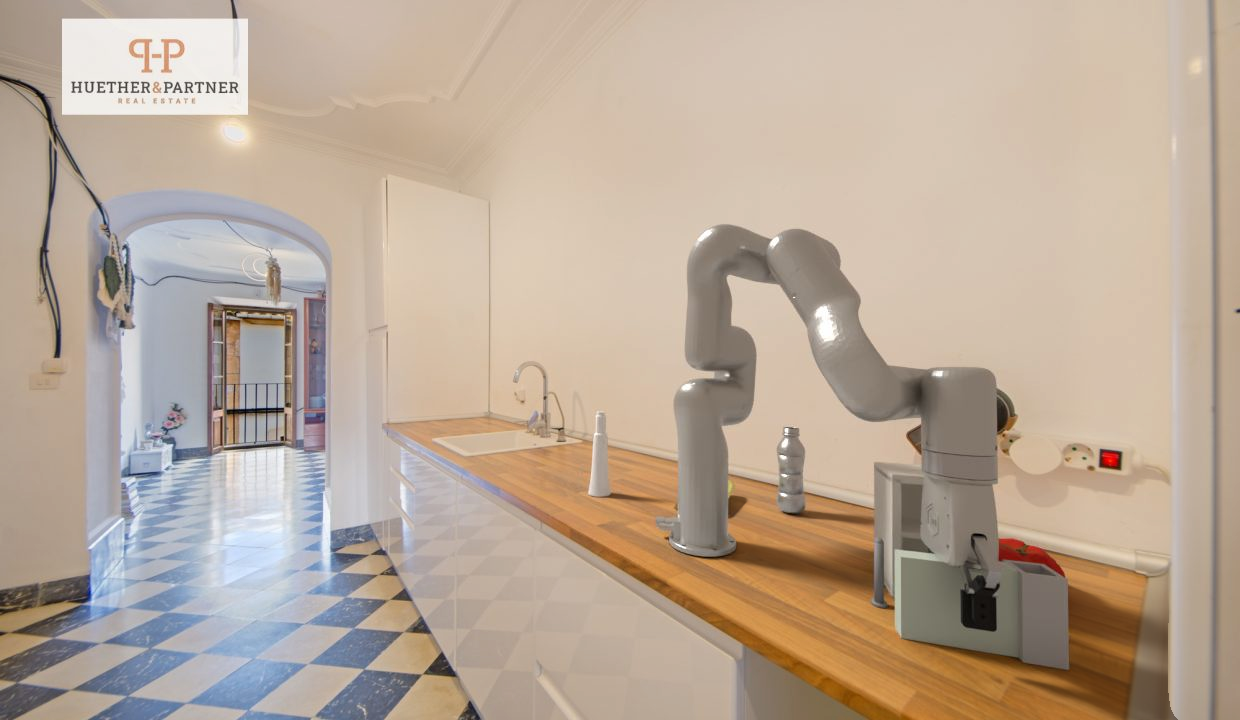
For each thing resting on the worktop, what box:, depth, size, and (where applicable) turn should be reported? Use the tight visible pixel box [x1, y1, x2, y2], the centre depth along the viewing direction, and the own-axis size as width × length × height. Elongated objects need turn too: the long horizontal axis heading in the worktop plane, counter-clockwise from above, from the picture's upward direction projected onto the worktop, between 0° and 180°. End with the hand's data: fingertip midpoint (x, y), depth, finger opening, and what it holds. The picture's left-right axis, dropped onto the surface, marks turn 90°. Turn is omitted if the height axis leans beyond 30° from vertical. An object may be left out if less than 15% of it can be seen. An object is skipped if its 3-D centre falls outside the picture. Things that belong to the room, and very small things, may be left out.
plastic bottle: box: [775, 426, 807, 514], centre depth 104 cm, size 6×7×20 cm
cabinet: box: [870, 461, 928, 609], centre depth 66 cm, size 16×14×18 cm
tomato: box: [998, 537, 1066, 578], centre depth 68 cm, size 10×11×6 cm
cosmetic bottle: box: [587, 410, 612, 498], centre depth 117 cm, size 6×6×22 cm
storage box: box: [894, 549, 1070, 671], centre depth 53 cm, size 16×4×10 cm, turn 73°
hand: (959, 607), depth 54 cm, fingers open, 8 cm apart
